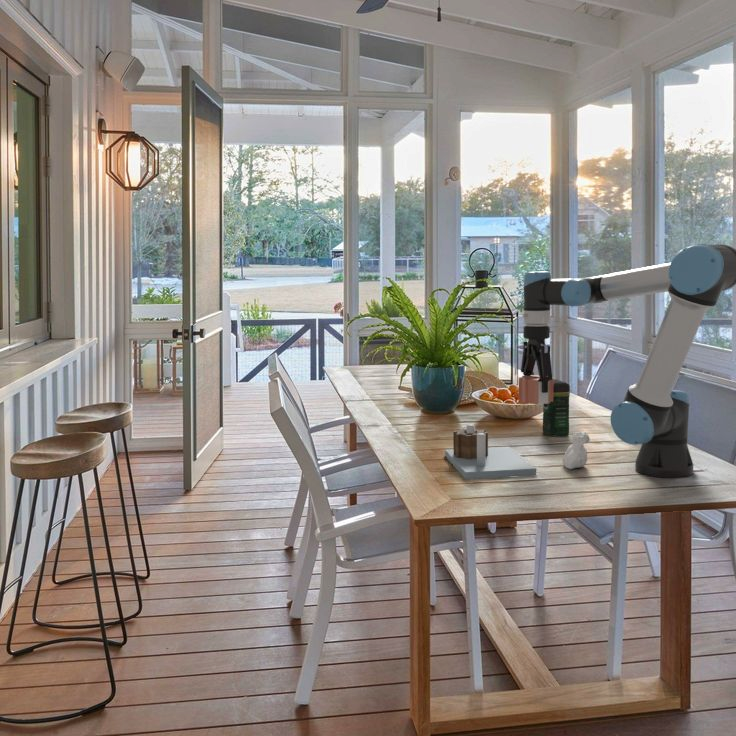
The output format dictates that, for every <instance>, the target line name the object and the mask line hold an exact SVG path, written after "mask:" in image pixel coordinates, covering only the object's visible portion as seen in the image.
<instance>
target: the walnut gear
mask: <svg viewBox="0 0 736 736" xmlns="http://www.w3.org/2000/svg"><path fill="white" fill-rule="evenodd" d="M452 433H453V449H454V455H455V457H457V458H466V459H474V458H477V434H478V433H484V434H486V456H488V448H489V432H488V431H487V430H486V429H476V428H475V433H471V434H469V433H467V428H459V429H458V430H453V432H452Z"/></svg>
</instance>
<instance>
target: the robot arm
mask: <svg viewBox="0 0 736 736" xmlns="http://www.w3.org/2000/svg"><path fill="white" fill-rule="evenodd" d="M523 279H524V281H523V286H522V288H523V314H522V317H523V323H524V324H525V325H524V326H523V333H522V334H523V336H522V337H523V338H524V339H526V341H523V344H522V345H523V350H522V357H521V358H522V359H521V367H520V372H521V373H522V376H525V375H526V376H533V375H535V372H534V369H535V365H536V367H537V371H538V376H539V377H540V379H539V380H538V382H539V384H538V404H537V405H543V404H547V403H548V381H550V380H552V377H553V372H552V360H551V345H546V340H548V339H550V336H551V335H550V334H551V327H550V325H549V324H550V323H551V306H564V307H565V306H567V307H568V306H569V307H583V306H585V305H586V304H588V305H589V304H601V303H603V302H609V301H614V300H615V301H616V300H622V299H627V298H634V297H641V296H648V295H654V294H659V293H661V294H662V293H668V295H669V298H670V301H669V304H668V307H667V308H666V312H665V313H664V316H663V319H662V320H661V323H660V325H659V329H658V330H657V333H656V336H655V339H654V341H653V343H652V345H651V348H650V351H649V353H648V356H647V358H646V360H645V363H644V366H643V367H642V371H641V373H640V375H639V378H638V380H637V382H636V383H634V384H631V385H630V386H629V387H628V389H627V392H626V394H625V397H624V398H623V401H621V402H619V403H617V405H615V406H614V407H613V409H612V410H611V413H610V420H609V421H610V425H611V428H612V430H613V432H614V434H615V435H616V436H617V438H618V439H619V440H621V441H622V442H624V443H626V444H628V445H633V446H636V445H641V446H640V448H639V450H638V454H637V456H636V459H635V465H634V466H635V468H634V469H635V470H636V471H637V472H638V473H641V474H644V475H647V476H652V477H658V478H671V479H672V478H685V477H688V476H689V477H690V476H691V475H693V474H694V463H693V460H692V459H693V458H692V456H691V453H690V450H689V446H688V437H689V436H688V435H689V412H690V401H689V400H690V396H689V393H688V392H687V391H684V390H679V389H673V388H674V387H675V384H676V381H677V379H678V377H679V374H680V373H681V370H682V367H683V365H684V363H685V361H686V358H687V356H688V354H689V352H690V350H691V349H690V348H691V347H692V344H693V342H694V339H695V337H696V334H697V333H698V330H699V327H700V325H701V323H702V320H703V319H704V316H705V314H706V312H707V311H708V310H710V309H712V308H715V307H716V305H717V302H718V300H719V298H720V295H721V293H722V292H723V291H726V290H729V289H732V288H733V287H735V286H736V249H735V248H734V247H732V246H730V245H727V244H706V243H698V244H697V243H696V244H693V245H689V246H687V247H684V248H683V249H681V250H680V251H678V252H677V253H676V254H675V255H674V256H673V258H672V259H671V262H668V263H662V264H658V265H657V264H656V265H651V266H645V267H640V268H634V269H630V270H629V269H628V270H624V271H618V272H612V273H608V274H601V275H595V276H590V277H576V278H575V277H574V278H552V275H551V272H550V271H528V272H526V273H525V274H524V278H523Z"/></svg>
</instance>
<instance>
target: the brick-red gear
mask: <svg viewBox="0 0 736 736" xmlns="http://www.w3.org/2000/svg"><path fill="white" fill-rule="evenodd" d="M539 379H540V377H539V374H538V375H537V374H534V375H531V376H526V375H522V376H519V377H518V402H521V403H522V404H533V405H539V404H538V384H539V382H538V380H539ZM553 384H554V377H553V376H552V380H550V381H548V403H550V402H553ZM548 403H547V404H548Z"/></svg>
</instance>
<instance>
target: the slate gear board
mask: <svg viewBox="0 0 736 736" xmlns="http://www.w3.org/2000/svg"><path fill="white" fill-rule="evenodd" d="M466 429H467V433H469V434H471V433H475V429H476V426H475V424H466ZM444 456H446V457H447V458H446V457H445V458H446V459H447V460H448V461H449V463H450V464H451V465H452V464H453V465H452V466H453V467H454V468H455V470H456V471H457V472H458V473H459V474H460V475H461V476H462V477H463V478H464V480H476V479H479V480H480V479H496V478H498V479H500V478H511V477H510V476H519V477H531V475H536V476H537V467H535V466H534V465H532V464H531V463H530V461H527V460H526V459H525V458H524V457H523V456H522V455H520V454H519V453H518V452H517V451H515V450H514V449H513V448H511V447H510V446H498V447H497V446H494V447H491V446H490V447H488V456H486V434H484V433H478V434H477V458H474V459H466V458H457V457H455V455H454V448H453V449H452V448H451V449H445V450H444ZM499 477H500V478H499Z"/></svg>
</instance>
